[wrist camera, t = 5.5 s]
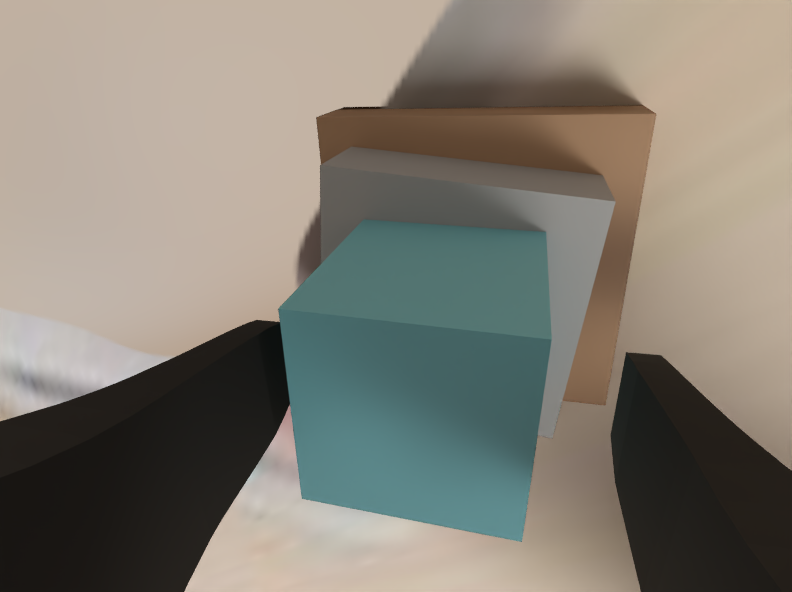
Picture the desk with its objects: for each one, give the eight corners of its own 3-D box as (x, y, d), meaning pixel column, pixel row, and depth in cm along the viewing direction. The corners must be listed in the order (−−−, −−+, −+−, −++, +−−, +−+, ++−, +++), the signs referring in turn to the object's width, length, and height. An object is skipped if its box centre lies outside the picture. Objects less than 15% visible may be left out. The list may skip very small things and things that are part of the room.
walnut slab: (597, 362, 19) (605, 405, 17) (363, 340, 21) (343, 376, 19) (638, 102, 15) (656, 113, 13) (344, 107, 17) (316, 117, 15)
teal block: (526, 387, 14) (521, 541, 10) (369, 366, 15) (302, 498, 11) (546, 232, 12) (551, 339, 8) (363, 219, 13) (278, 308, 9)
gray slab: (550, 386, 17) (552, 438, 15) (347, 348, 18) (321, 390, 16) (603, 175, 14) (615, 201, 11) (351, 146, 15) (320, 165, 13)
